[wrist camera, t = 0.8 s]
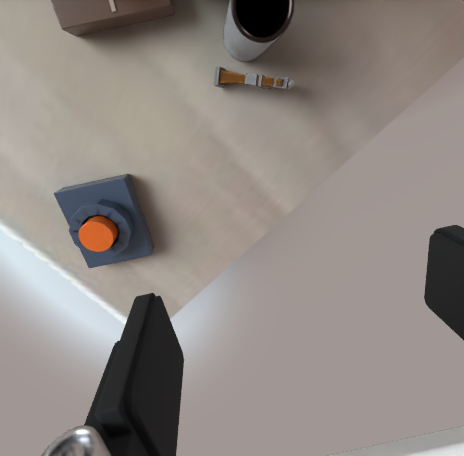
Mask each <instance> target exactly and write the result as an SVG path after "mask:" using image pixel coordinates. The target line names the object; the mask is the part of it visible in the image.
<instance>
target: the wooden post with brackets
mask: <svg viewBox="0 0 464 456" xmlns="http://www.w3.org/2000/svg"><path fill="white" fill-rule="evenodd" d="M228 83H245V84H246V85H255V86H260V87H261V86H262V87H261V88H263V89H264V88H270V89H271V90H273V89H274V88H282V89H284V90H290V89H291V88H292V87H293V86H294V81H293V80H290V79H289V78H280V77H275V78H270V77H265V76H263V75H257V74H255V75H253V74H247V73H246V75H242V74H236V73H230V72H225V69H224V68H221V67H217V66H216V69H215V81H214V86H217V87H224V84H228Z"/></svg>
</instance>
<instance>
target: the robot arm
mask: <svg viewBox="0 0 464 456" xmlns="http://www.w3.org/2000/svg"><path fill="white" fill-rule="evenodd" d="M424 298H425V302H426V304H427V306H428V307H429V308H430V309H431V310H432V311H433V312H434V313H435V314H436V315H437V316H438V317H439V318H441V319H442V320H443V321H444V322H445V323H446V324H447V325H448V326H449V327H450V328H451V329H452V330H454V331H455V333H457V334H458V335H459V336H460V337H461V338H462V339H463V340H464V228H462V227H460V226H458V225H452V226H448V227H443V228H439V229H436V230H435V231H434V234H433V235H431V236H430V241H429V252H428V263H427V274H426V285H425V296H424ZM183 363H184V358H183V352H182V350H181V347H180V344H179V342H178V339H177V337H176V334H175V331H174V329H173V327H172V324H171V321H170V319H169V316H168V314H167V311H166V308H165V306H164V303H163V301H162V298H161V297H160V296H155V294H154V293H150V294H146V295H141V296H137V297H136V298H135V300H134V303H133V305H132V308H131V311H130V314H129V317H128V319H127V322H126V325H125V328H124V331H123V333H122V337H121V339H120V341H118V342H117V343H115V345H114V347H113V349H112V352H111V355H110V358H109V360H108V363H107V365H106V368H105V371H104V373H103V377H102V379H101V381H100V384H99V387H98V389H97V392H96V395H95V398H94V401H93V403H92V406H91V408H90V411H89V414H88V416H87V419H86V422H85V424H84V426H78V427H75V428H73V429H70V430H68V431H67V432H65V433H64V434H62V435H61V436H59V437H58V438H57V439H56V440H55V441H54V442H53V443H52V444H50V446H48V448H47V449H46V450H45V451H44V453H43V454H42V456H176V448H177V437H178V425H179V413H180V400H181V389H182V377H183ZM329 456H464V426H461V427H456V428H451V429H447V430H442V431H438V432H433V433H429V434H424V435H419V436H415V437H410V438H405V439H401V440H397V441H392V442H387V443H383V444H379V445H373V446H369V447H364V448H360V449H356V450H351V451H346V452H342V453H337V454H333V455H329Z"/></svg>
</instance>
